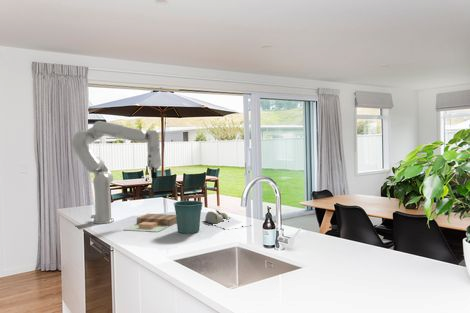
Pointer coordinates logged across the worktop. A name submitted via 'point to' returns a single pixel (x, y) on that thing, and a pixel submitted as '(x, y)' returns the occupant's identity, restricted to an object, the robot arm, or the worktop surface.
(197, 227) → the flower pot
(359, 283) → the worktop surface
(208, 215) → the grey lumpy piece
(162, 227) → the sage mat
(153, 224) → the terracotta tile
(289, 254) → the worktop surface
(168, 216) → the board
